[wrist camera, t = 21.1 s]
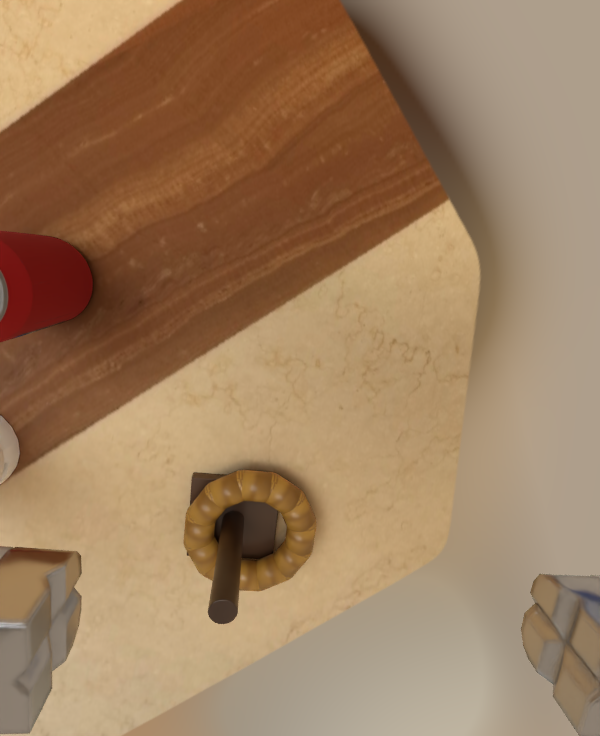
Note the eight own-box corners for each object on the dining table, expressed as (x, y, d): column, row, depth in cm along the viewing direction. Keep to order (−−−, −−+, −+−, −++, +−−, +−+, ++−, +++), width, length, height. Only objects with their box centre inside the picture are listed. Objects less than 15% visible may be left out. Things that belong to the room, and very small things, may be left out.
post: (280, 478, 41) (287, 564, 30) (272, 553, 43) (275, 661, 32) (193, 472, 41) (165, 558, 29) (188, 549, 42) (160, 658, 31)
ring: (321, 471, 41) (325, 485, 38) (304, 580, 43) (307, 600, 41) (192, 460, 39) (187, 474, 37) (182, 573, 42) (177, 593, 39)
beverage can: (-9, 282, 35) (-143, 293, 24) (43, 217, 35) (-69, 196, 23) (63, 338, 37) (-30, 375, 25) (114, 277, 36) (43, 287, 24)
